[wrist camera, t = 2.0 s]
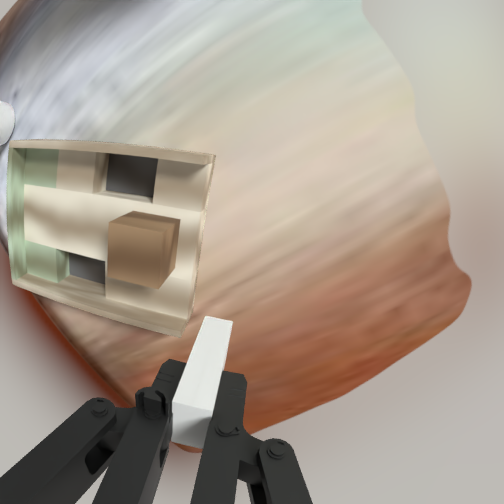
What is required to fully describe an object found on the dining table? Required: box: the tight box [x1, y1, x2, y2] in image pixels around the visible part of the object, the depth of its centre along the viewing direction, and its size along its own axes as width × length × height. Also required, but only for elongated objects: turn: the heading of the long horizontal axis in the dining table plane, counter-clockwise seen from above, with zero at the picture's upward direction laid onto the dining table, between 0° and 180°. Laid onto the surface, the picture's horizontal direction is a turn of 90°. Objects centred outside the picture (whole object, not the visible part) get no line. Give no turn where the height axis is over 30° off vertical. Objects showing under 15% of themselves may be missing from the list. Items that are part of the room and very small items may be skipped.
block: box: [107, 211, 181, 289], centre depth 26 cm, size 5×5×5 cm
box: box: [7, 139, 216, 338], centre depth 29 cm, size 18×23×6 cm
